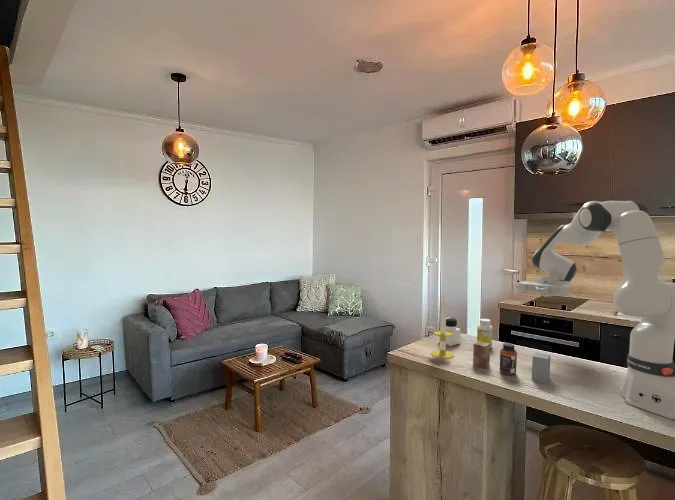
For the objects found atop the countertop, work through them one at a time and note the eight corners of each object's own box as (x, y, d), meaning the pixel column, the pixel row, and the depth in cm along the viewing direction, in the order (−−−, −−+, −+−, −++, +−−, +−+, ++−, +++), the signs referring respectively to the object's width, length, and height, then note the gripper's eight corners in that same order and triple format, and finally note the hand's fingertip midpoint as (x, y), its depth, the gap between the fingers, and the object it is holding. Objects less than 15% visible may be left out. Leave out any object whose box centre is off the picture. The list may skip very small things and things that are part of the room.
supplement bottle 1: (477, 343, 186) (478, 317, 185) (492, 345, 183) (493, 318, 182) (476, 347, 180) (476, 320, 179) (491, 349, 177) (492, 322, 176)
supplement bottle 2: (517, 376, 147) (518, 347, 146) (500, 375, 148) (501, 346, 148) (514, 370, 153) (515, 342, 152) (498, 369, 154) (499, 341, 153)
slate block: (549, 378, 145) (550, 355, 144) (546, 383, 141) (547, 359, 140) (534, 375, 148) (535, 352, 147) (531, 379, 144) (532, 355, 144)
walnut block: (489, 364, 159) (490, 343, 158) (485, 368, 155) (486, 346, 154) (477, 362, 162) (477, 341, 161) (472, 365, 158) (473, 343, 158)
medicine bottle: (460, 343, 186) (461, 319, 185) (450, 346, 182) (451, 321, 182) (449, 339, 192) (449, 316, 191) (439, 342, 188) (439, 318, 188)
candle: (458, 355, 170) (460, 294, 168) (446, 360, 164) (447, 297, 162) (439, 349, 178) (440, 291, 176) (426, 354, 171) (427, 294, 169)
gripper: (522, 277, 178) (513, 280, 167) (573, 281, 165) (567, 285, 154) (521, 290, 179) (512, 295, 168) (572, 296, 166) (566, 301, 155)
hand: (539, 290), depth 161 cm, fingers closed
